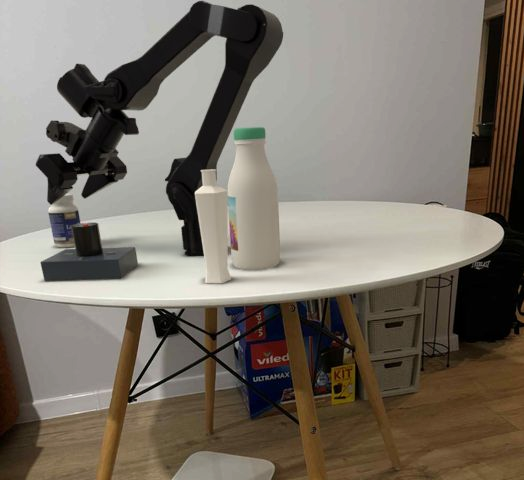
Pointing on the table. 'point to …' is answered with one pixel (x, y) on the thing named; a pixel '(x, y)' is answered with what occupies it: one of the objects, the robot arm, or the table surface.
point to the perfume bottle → (213, 227)
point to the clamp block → (89, 265)
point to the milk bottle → (253, 203)
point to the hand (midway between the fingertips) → (67, 199)
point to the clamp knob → (87, 239)
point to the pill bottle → (63, 220)
